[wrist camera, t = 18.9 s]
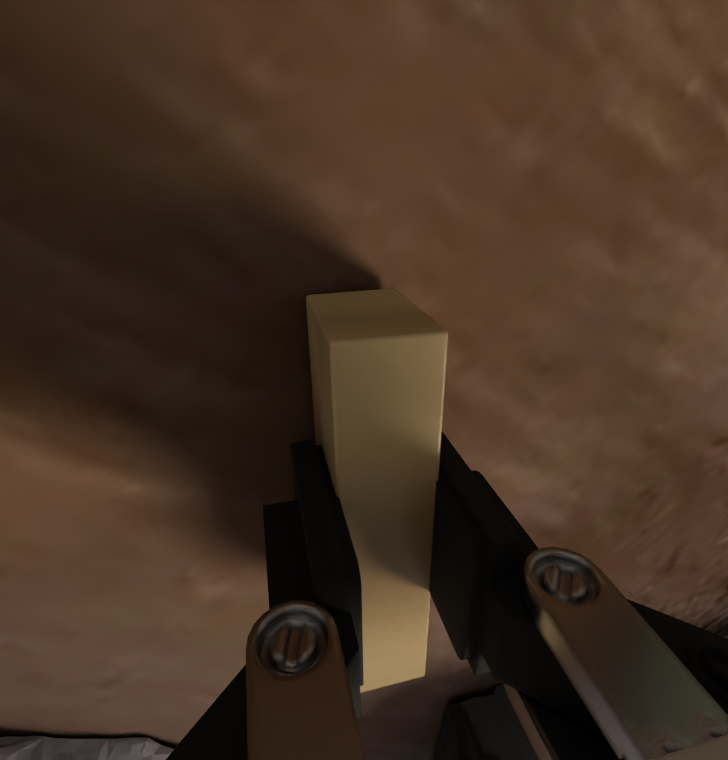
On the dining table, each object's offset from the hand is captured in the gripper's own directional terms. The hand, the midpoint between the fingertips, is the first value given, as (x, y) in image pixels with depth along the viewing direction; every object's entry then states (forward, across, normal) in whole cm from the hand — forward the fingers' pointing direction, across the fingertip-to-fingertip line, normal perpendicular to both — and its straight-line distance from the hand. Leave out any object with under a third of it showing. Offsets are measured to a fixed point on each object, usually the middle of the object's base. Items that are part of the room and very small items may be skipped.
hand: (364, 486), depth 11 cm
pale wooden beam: (+1, 0, 0) cm, 1 cm away
